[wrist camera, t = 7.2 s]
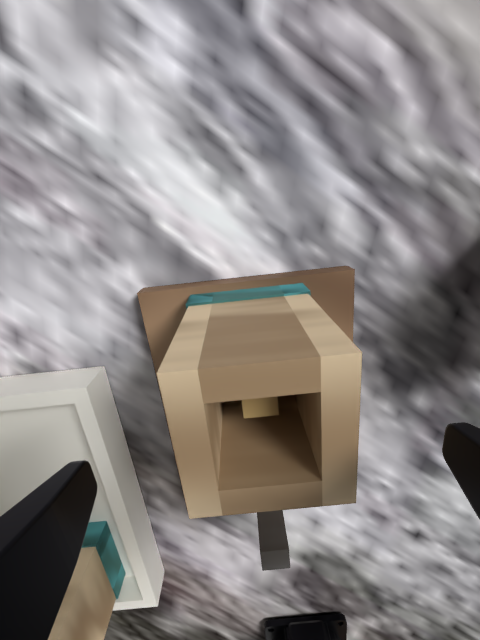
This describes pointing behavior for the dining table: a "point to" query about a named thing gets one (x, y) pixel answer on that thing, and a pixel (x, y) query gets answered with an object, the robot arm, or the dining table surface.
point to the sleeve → (91, 588)
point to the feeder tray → (75, 445)
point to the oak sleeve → (260, 382)
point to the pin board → (161, 325)
